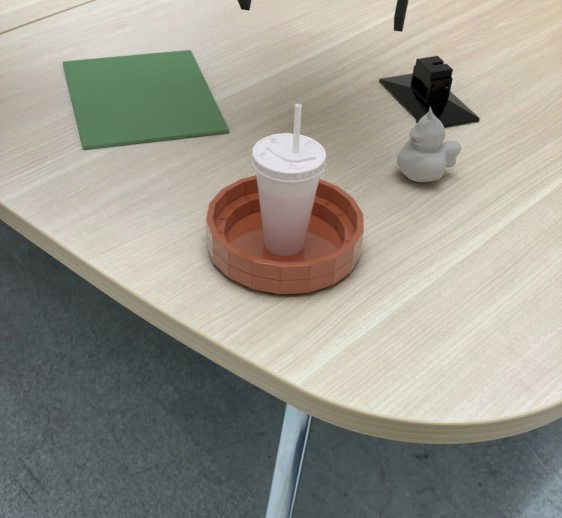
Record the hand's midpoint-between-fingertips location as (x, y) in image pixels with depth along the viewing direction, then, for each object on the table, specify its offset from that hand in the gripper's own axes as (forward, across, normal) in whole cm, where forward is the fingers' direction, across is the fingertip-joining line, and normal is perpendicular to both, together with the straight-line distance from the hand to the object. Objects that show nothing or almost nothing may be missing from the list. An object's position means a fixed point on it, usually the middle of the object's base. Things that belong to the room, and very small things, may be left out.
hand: (319, 14), depth 67 cm
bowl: (+19, 0, -6) cm, 20 cm away
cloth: (+3, +22, -22) cm, 32 cm away
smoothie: (+19, 0, -6) cm, 20 cm away
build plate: (-3, -10, -29) cm, 31 cm away
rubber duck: (+8, -12, -17) cm, 22 cm away
